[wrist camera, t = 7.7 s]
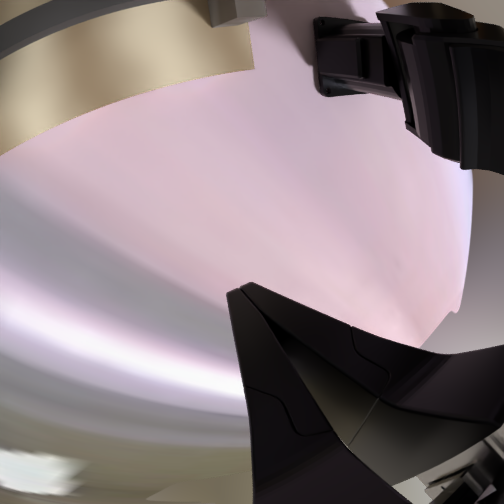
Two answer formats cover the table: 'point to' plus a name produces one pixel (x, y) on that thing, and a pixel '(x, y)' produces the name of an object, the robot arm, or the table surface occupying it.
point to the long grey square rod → (56, 20)
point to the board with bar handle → (118, 59)
